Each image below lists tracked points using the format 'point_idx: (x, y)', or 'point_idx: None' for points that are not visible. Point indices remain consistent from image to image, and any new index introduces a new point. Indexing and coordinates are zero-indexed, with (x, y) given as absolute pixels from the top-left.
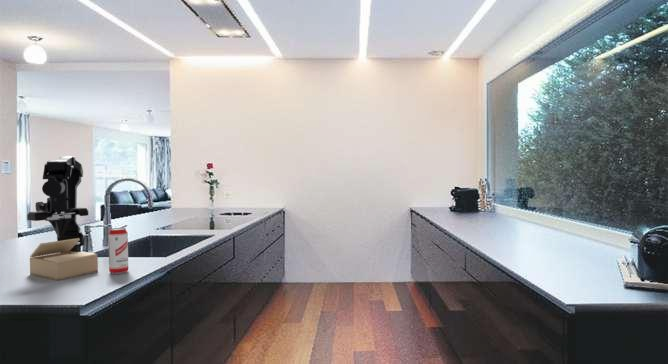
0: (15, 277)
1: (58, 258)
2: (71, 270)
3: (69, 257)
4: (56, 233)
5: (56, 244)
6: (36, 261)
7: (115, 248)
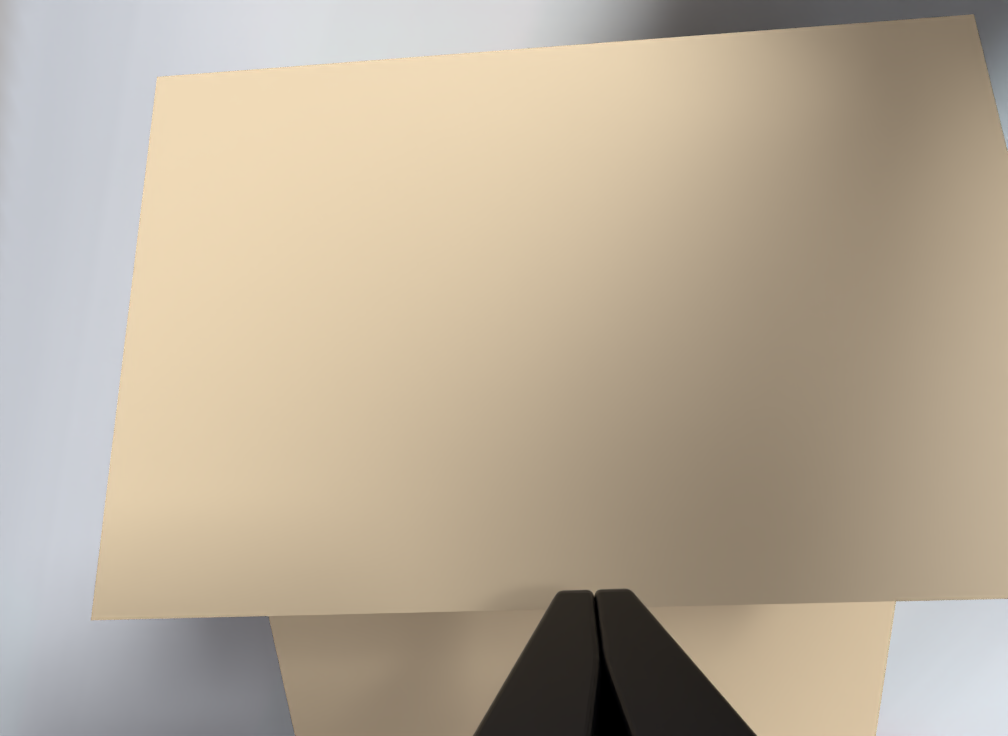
0: (109, 115)
1: (383, 724)
2: None
3: None
4: (512, 689)
5: (504, 504)
6: None
7: None
